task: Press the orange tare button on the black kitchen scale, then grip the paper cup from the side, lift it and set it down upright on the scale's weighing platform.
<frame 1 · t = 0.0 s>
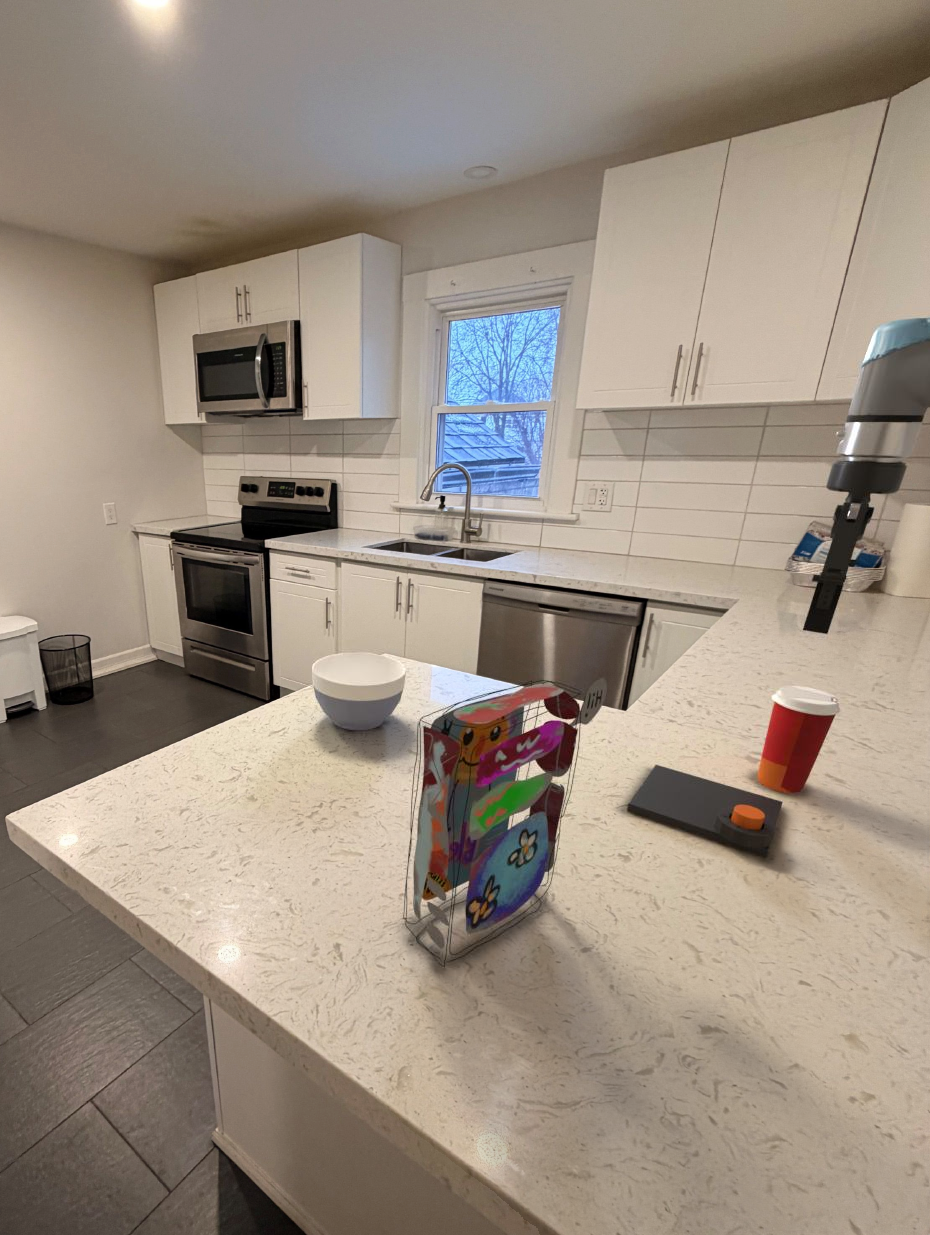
hand: (818, 620, 90), 23 cm above the countertop, tool pointing down, fingers open, 13 cm apart
paper cup: (778, 784, 93), on the countertop
bowl: (357, 720, 112), on the countertop
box: (505, 902, 69), on the countertop
scale: (703, 810, 86), on the countertop
tare button: (747, 817, 79), point 3 cm above the countertop, slide at 0.1 cm
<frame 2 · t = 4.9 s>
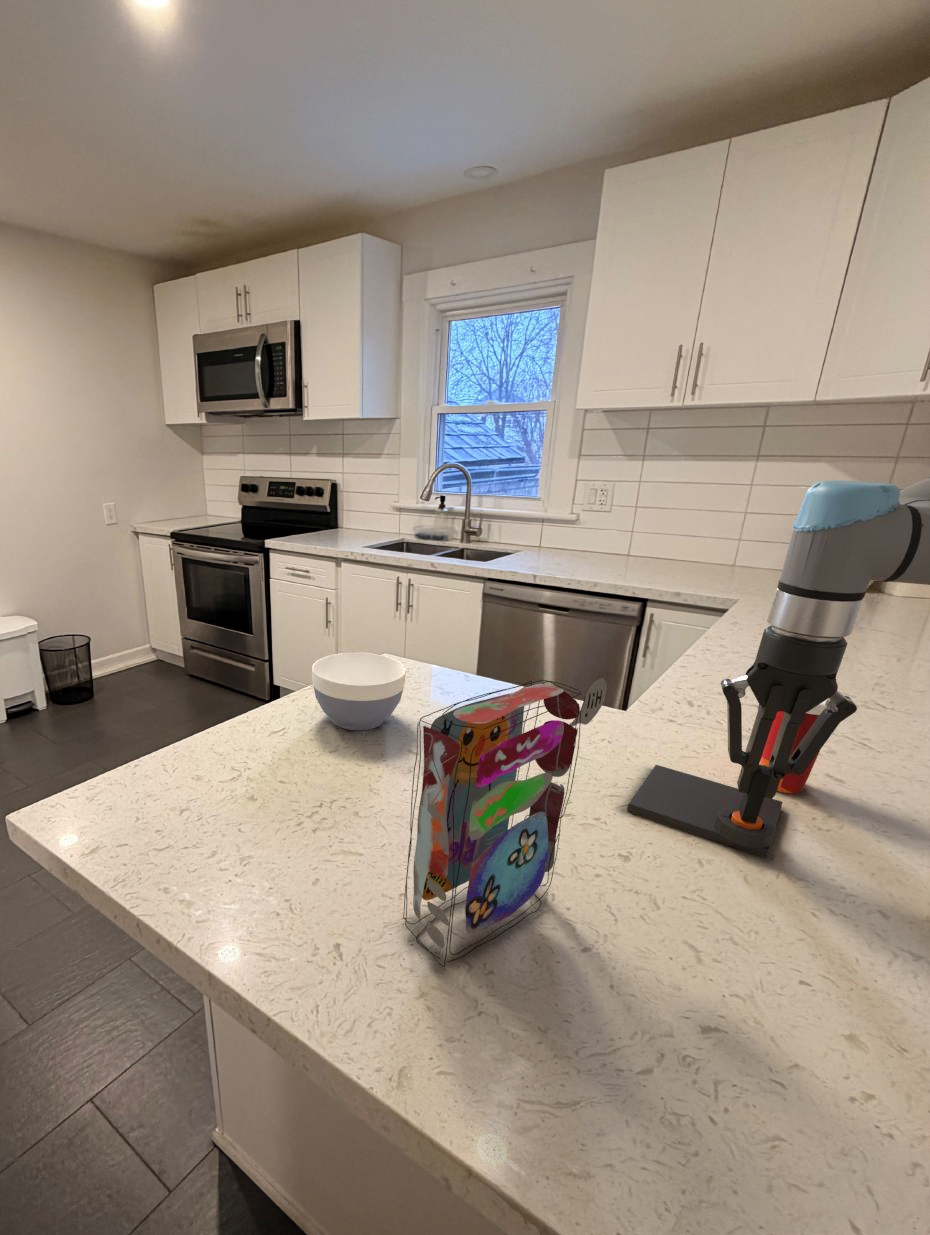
hand: (747, 815, 78), 4 cm above the countertop, tool pointing down, fingers closed
tare button: (745, 823, 79), point 3 cm above the countertop, slide at -0.8 cm, touching gripper
everything else where it was.
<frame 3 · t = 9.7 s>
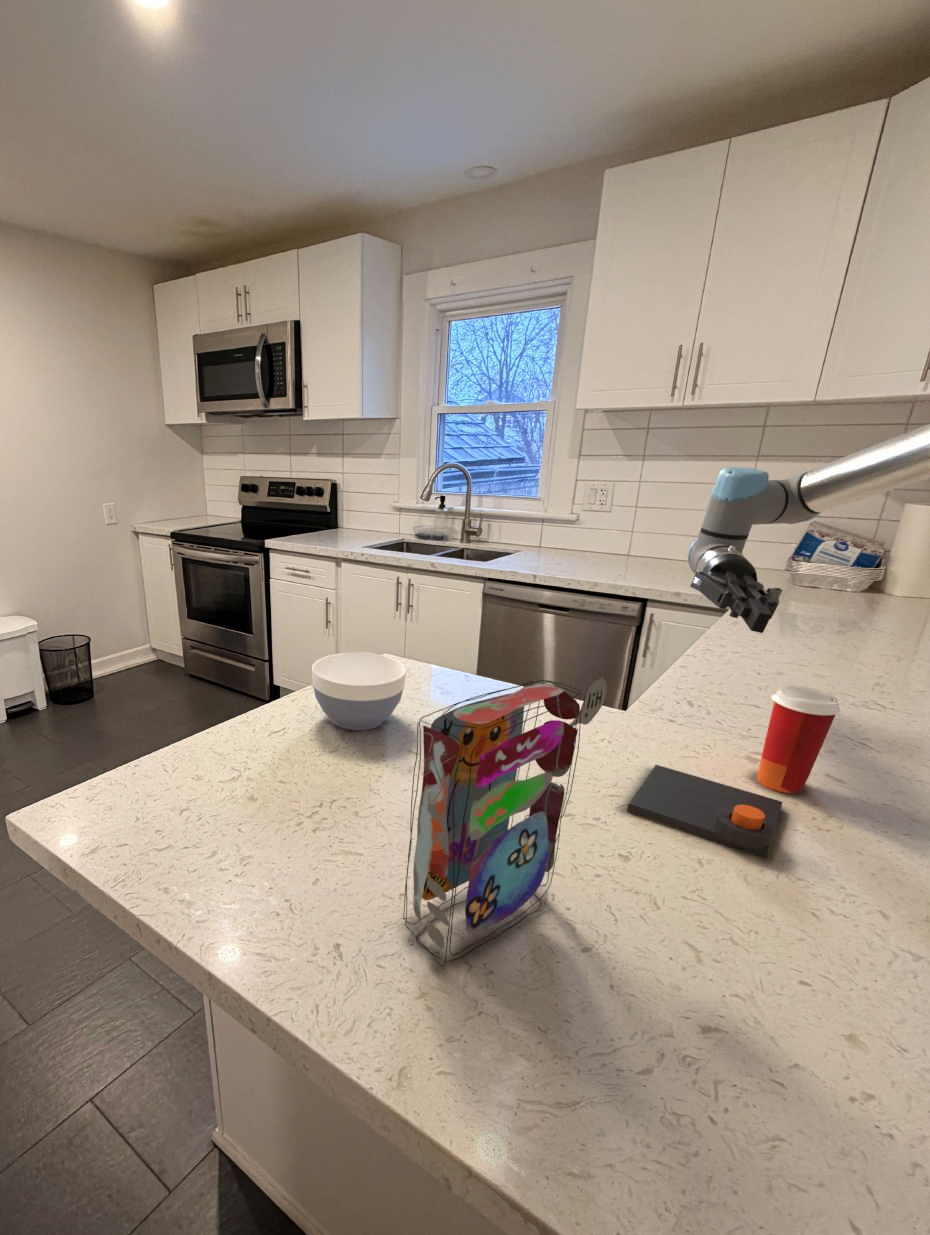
hand: (761, 622, 88), 23 cm above the countertop, tool horizontal, fingers closed
tare button: (747, 817, 79), point 3 cm above the countertop, slide at 0.1 cm
everything else where it was.
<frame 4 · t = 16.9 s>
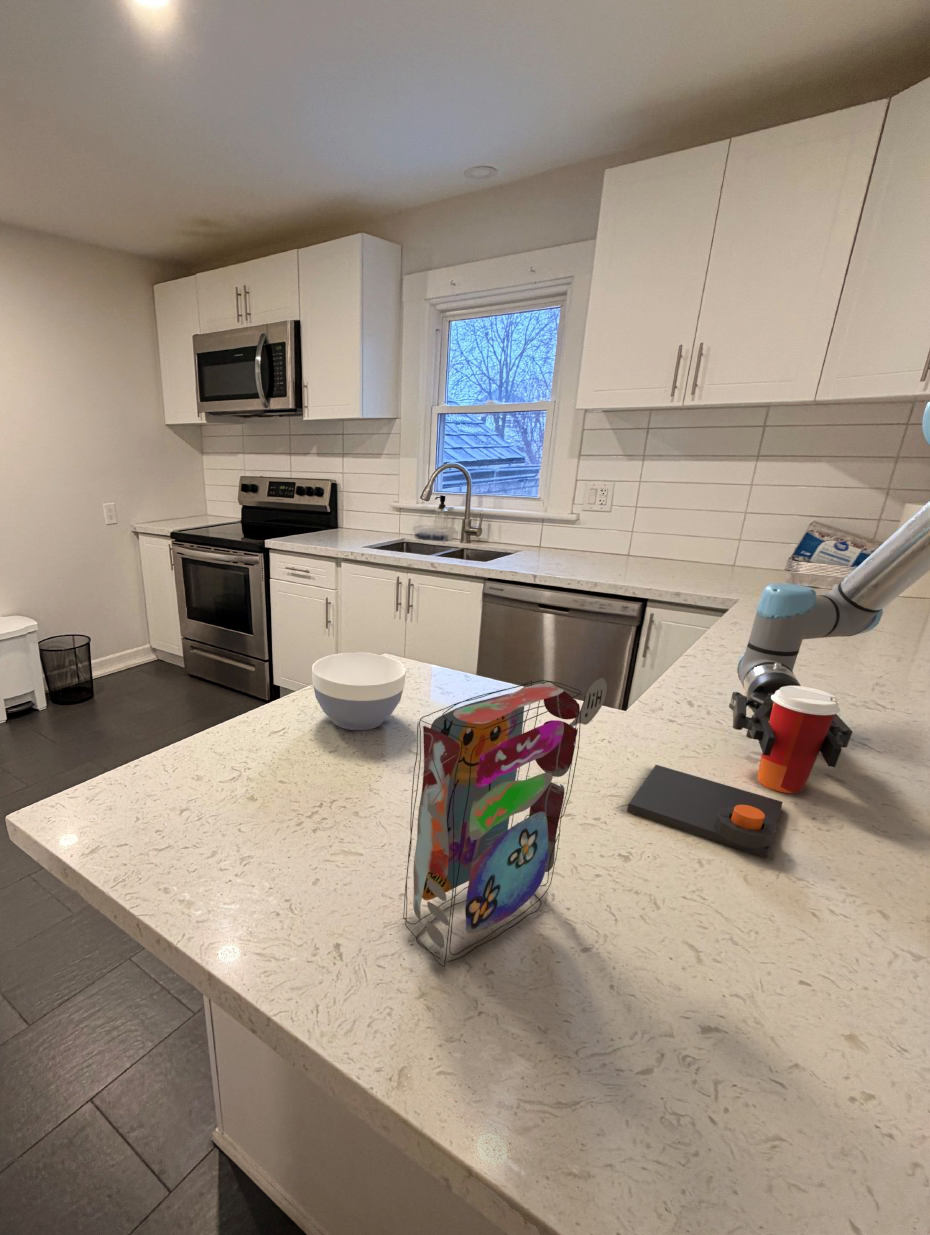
hand: (801, 752, 86), 8 cm above the countertop, tool horizontal, fingers closed on paper cup, 7 cm apart
paper cup: (778, 784, 93), on the countertop, touching gripper
everything else where it was.
when the fingers open (9 cm above the countertop, at t = 24.0 s): paper cup stays where it is, resting on scale.
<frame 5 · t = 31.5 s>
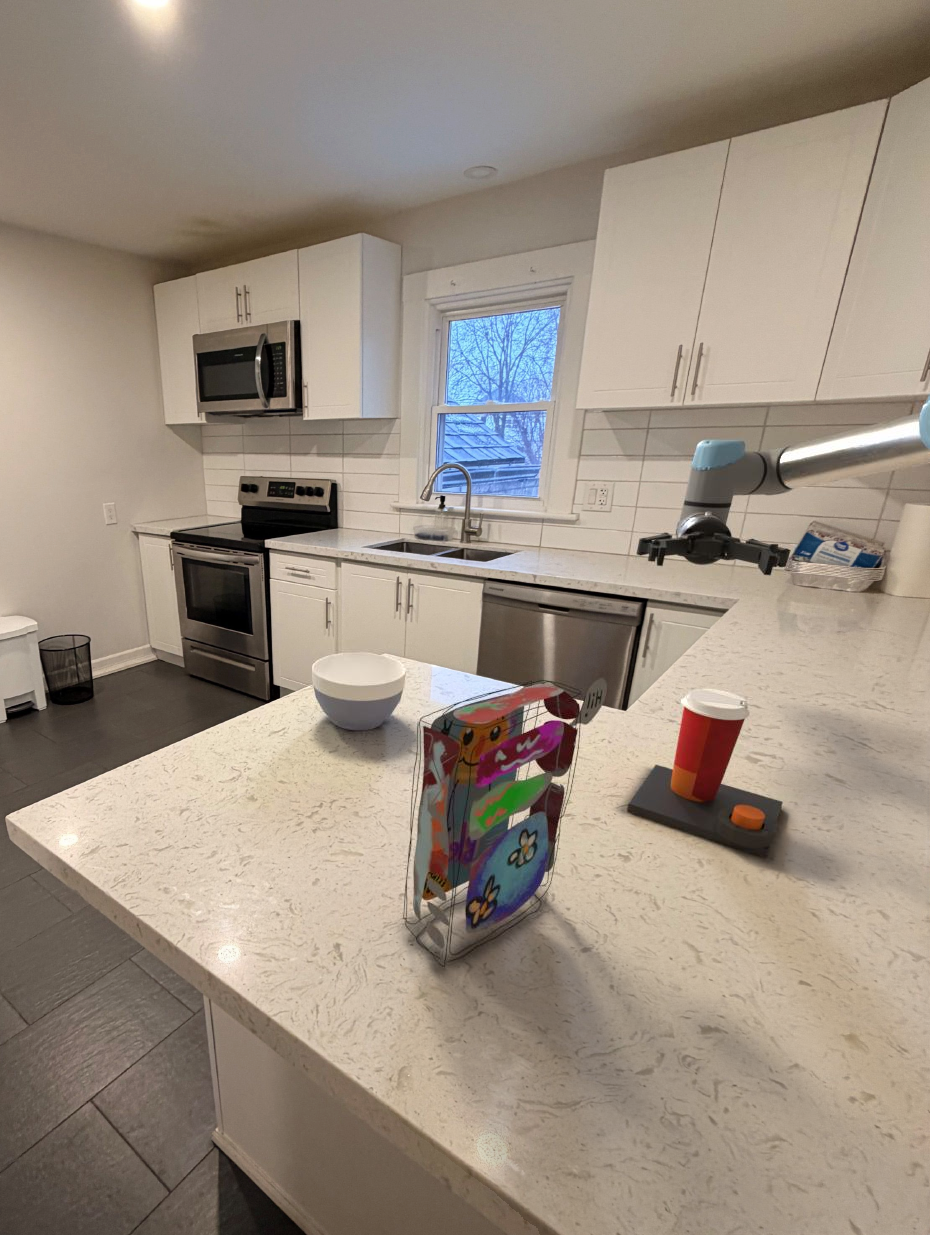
hand: (714, 561, 91), 30 cm above the countertop, tool horizontal, fingers open, 13 cm apart
paper cup: (691, 792, 89), point 1 cm above the countertop, touching scale
everything else where it was.
at the end: tare button pushed in 1.0 cm at the most during the clip, back to where it started at the end; paper cup inside the target area on the scale (1.2 cm from its centre), point 1.0 cm above the scale's base; paper cup tilted 0° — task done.
